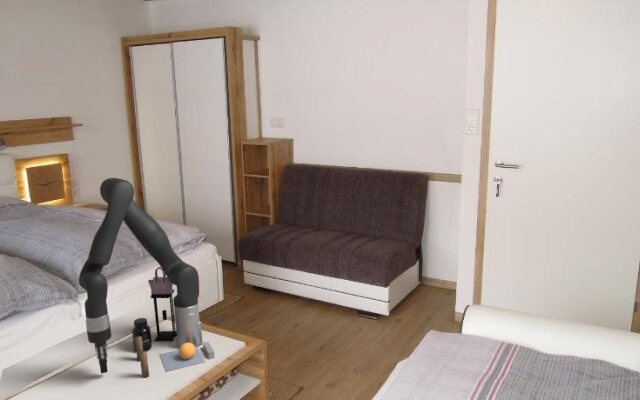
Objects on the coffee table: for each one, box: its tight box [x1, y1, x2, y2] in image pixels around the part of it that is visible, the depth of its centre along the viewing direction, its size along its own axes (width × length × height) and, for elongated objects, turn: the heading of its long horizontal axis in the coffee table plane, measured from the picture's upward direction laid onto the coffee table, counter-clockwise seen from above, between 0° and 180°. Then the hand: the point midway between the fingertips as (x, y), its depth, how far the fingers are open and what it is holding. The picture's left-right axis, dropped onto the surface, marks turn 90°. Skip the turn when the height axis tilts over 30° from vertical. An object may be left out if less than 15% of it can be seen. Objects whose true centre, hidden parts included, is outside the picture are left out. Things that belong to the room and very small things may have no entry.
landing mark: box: [159, 347, 206, 373], centre depth 197 cm, size 14×14×1 cm
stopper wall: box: [202, 341, 215, 360], centre depth 200 cm, size 2×9×2 cm, turn 26°
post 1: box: [135, 336, 143, 363], centre depth 195 cm, size 2×2×9 cm
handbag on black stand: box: [147, 266, 177, 342], centre depth 211 cm, size 10×8×30 cm
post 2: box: [140, 351, 150, 379], centre depth 184 cm, size 2×2×9 cm
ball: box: [178, 343, 196, 359], centre depth 196 cm, size 6×6×6 cm
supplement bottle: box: [131, 317, 153, 352], centre depth 203 cm, size 7×7×12 cm
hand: (104, 371), depth 185 cm, fingers closed
